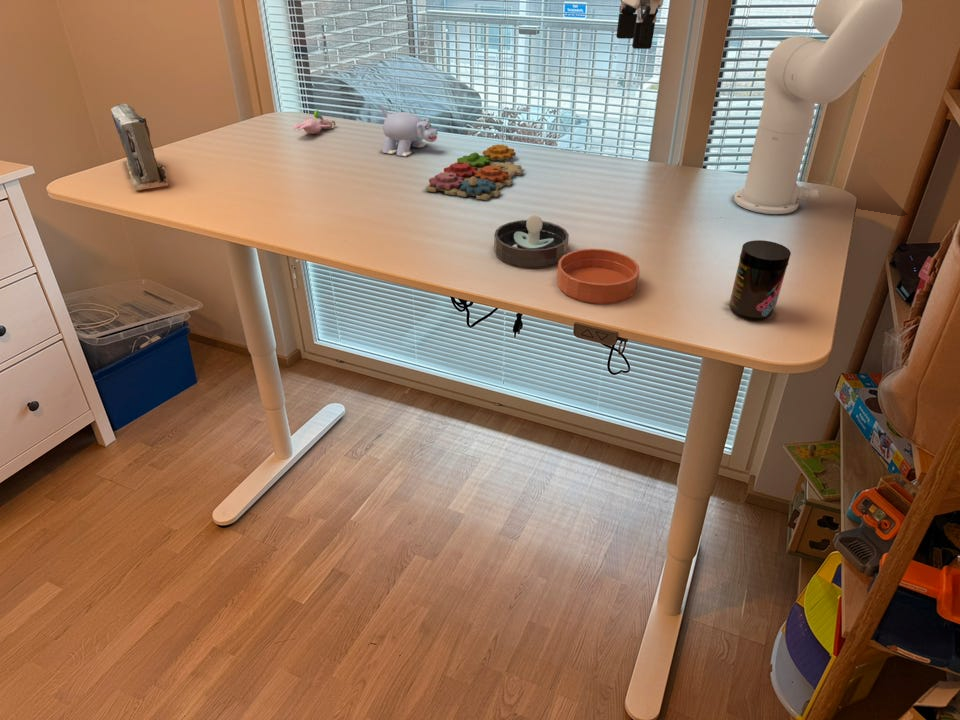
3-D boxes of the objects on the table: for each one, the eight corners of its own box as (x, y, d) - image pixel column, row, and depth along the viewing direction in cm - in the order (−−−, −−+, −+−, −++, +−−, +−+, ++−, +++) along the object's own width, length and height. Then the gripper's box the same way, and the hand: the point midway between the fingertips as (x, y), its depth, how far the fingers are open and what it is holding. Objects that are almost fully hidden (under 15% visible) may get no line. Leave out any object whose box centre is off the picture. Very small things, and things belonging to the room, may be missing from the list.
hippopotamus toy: (425, 160, 166) (424, 119, 160) (372, 151, 171) (368, 112, 165) (446, 147, 174) (445, 108, 168) (394, 140, 179) (392, 102, 174)
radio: (126, 161, 165) (107, 96, 156) (165, 157, 167) (148, 92, 159) (126, 194, 147) (104, 123, 138) (169, 188, 150) (150, 118, 141)
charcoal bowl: (568, 239, 128) (569, 222, 126) (565, 271, 118) (567, 252, 116) (499, 235, 130) (499, 218, 128) (490, 266, 119) (490, 247, 117)
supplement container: (746, 326, 103) (763, 263, 97) (718, 305, 108) (732, 244, 102) (783, 318, 105) (801, 255, 99) (753, 297, 110) (769, 237, 104)
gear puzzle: (478, 150, 172) (478, 133, 170) (540, 158, 167) (541, 141, 165) (422, 192, 148) (421, 173, 146) (492, 203, 143) (492, 183, 141)
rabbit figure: (322, 130, 191) (286, 135, 178) (321, 107, 188) (285, 110, 176) (340, 133, 189) (305, 138, 176) (340, 110, 186) (304, 113, 174)
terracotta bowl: (634, 269, 118) (637, 251, 116) (638, 307, 108) (641, 287, 106) (558, 265, 120) (560, 246, 118) (554, 301, 109) (556, 281, 107)
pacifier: (542, 262, 120) (556, 248, 124) (544, 229, 116) (558, 215, 121) (505, 253, 123) (519, 239, 127) (505, 220, 119) (520, 208, 123)
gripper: (690, -68, 105) (670, 53, 115) (654, -74, 119) (638, 35, 129) (643, -70, 104) (626, 52, 114) (612, -75, 119) (599, 34, 128)
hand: (632, 43), depth 121 cm, fingers open, 9 cm apart
